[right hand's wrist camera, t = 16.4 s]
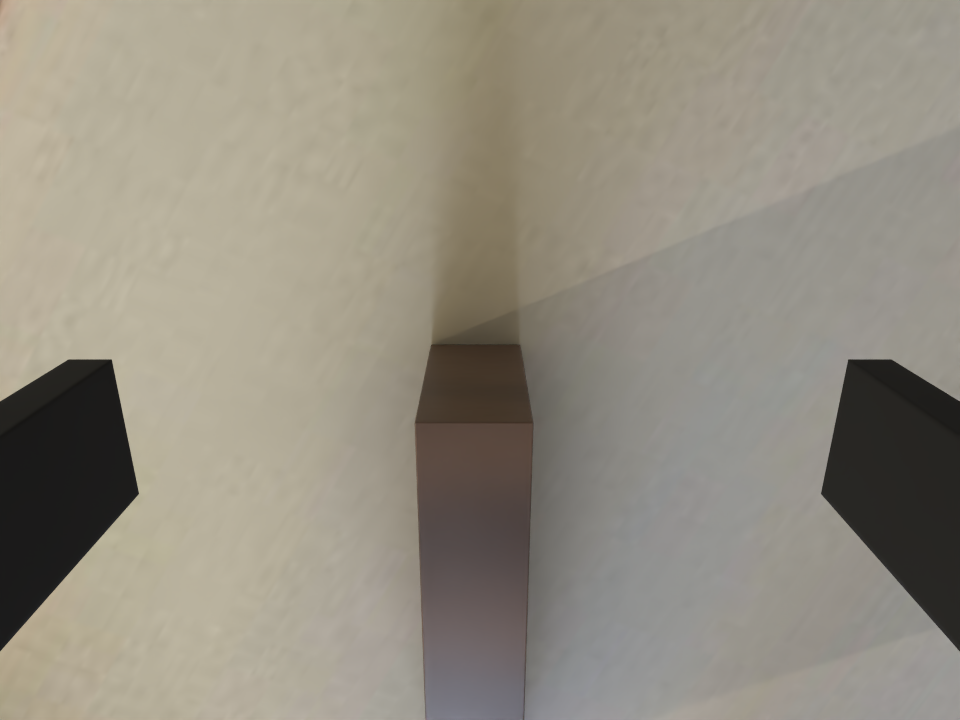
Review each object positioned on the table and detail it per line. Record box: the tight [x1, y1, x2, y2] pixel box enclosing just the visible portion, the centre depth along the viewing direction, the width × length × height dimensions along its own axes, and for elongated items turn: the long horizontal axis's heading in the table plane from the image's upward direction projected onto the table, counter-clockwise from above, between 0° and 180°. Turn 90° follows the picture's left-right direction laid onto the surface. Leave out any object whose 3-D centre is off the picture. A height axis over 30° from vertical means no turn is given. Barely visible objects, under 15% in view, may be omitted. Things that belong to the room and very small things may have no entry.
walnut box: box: [415, 345, 533, 720], centre depth 39 cm, size 32×5×10 cm, turn 0°
